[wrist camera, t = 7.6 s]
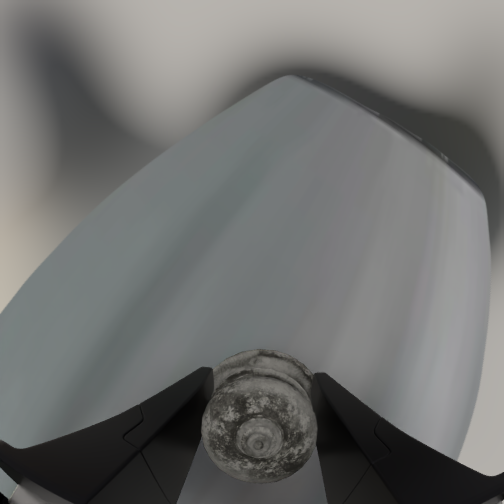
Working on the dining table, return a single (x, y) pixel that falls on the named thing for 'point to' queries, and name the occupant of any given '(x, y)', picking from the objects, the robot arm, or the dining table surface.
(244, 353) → the grey tall rounded piece
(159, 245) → the dining table surface
